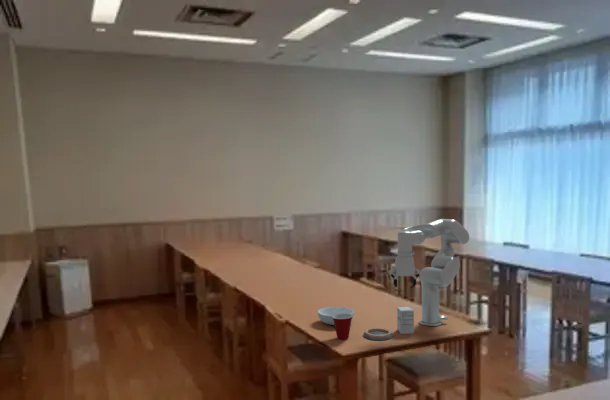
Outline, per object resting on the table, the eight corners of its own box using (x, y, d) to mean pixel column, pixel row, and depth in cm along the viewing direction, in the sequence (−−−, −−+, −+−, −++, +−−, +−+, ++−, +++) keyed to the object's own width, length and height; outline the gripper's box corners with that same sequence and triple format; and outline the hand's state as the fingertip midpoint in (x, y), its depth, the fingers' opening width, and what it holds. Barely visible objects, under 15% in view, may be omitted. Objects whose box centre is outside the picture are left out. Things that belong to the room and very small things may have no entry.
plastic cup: (341, 333, 274) (341, 311, 274) (357, 337, 266) (357, 315, 266) (327, 338, 267) (327, 315, 266) (343, 342, 259) (343, 319, 258)
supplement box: (397, 329, 279) (396, 306, 279) (410, 329, 280) (410, 306, 279) (400, 334, 272) (400, 310, 271) (414, 333, 272) (414, 310, 272)
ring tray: (389, 331, 277) (389, 327, 277) (395, 340, 262) (395, 335, 262) (361, 331, 276) (361, 327, 276) (366, 340, 261) (366, 336, 261)
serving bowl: (357, 319, 301) (357, 307, 300) (350, 329, 281) (350, 317, 280) (322, 316, 306) (322, 305, 306) (313, 327, 286) (313, 314, 286)
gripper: (419, 253, 278) (418, 284, 279) (387, 253, 277) (387, 285, 278) (422, 255, 271) (422, 287, 271) (390, 255, 270) (390, 288, 271)
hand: (404, 286), depth 275 cm, fingers open, 9 cm apart
